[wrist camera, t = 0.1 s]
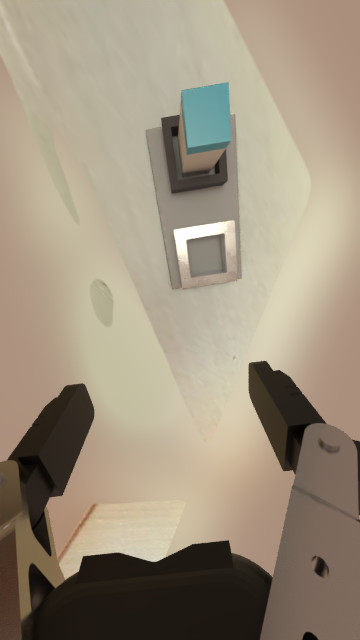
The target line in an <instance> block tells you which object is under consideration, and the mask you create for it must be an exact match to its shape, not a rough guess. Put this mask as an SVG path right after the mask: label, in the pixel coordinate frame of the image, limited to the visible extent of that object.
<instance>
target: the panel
mask: <svg viewBox="0 0 360 640" xmlns="http://www.w3.org/2000/svg"><path fill="white" fill-rule="evenodd" d="M230 127H231V141H230V143H229V144H228V146H227V147H226V155H227V173H228V181H227V182H226V183H225V184H224V185H221V186H215V187H209V188H203V189H197V190H191V191H185V192H179V193H173V194H172V193H171V186H170V179H169V172H168V165H167V159H166V152H165V145H164V138H163V131H162V127H159V128H153V129H148V130H146V135H147V141H148V147H149V153H150V159H151V165H152V171H153V176H154V182H155V188H156V194H157V200H158V206H159V212H160V218H161V224H162V230H163V236H164V242H165V248H166V254H167V260H168V266H169V272H170V278H171V284H172V289H178V288H182V283H181V277H180V270H179V263H178V257H177V250H176V243H175V236H174V230H177V229H183V228H189V227H195V226H201V225H207V224H213V223H220V222H226V221H232V220H235V241H236V263H237V279H241V278H242V277H241V251H240V225H239V200H238V174H237V148H236V122H235V114H234V115H230ZM172 140H173V147H174V155H175V162H176V170H177V178H178V180H183V179H189V178H195V177H201V176H207V175H212V174H215V165H214V167H213V168H212V170H211V171H210V173H205V174H199V175H193V176H187V177H182V174H181V166H180V158H179V150H178V136H173V137H172ZM186 245H187V252H188V260H189V268H190V274H191V273H197V272H203V271H210V270H216V269H222V260H221V247H220V234H217V235H211V236H204V237H198V238H192V239H186Z"/></svg>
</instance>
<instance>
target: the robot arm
mask: <svg viewBox="0 0 360 640" xmlns="http://www.w3.org/2000/svg"><path fill="white" fill-rule="evenodd" d="M249 394H250V398H251V401H252V403H253V405H254V407H255V410H256V412H257V414H258V417H259V419H260V421H261V423H262V425H263V427H264V430H265V432H266V434H267V436H268V438H269V441H270V443H271V445H272V447H273V450H274V452H275V454H276V456H277V458H278V460H279V463H280V465H281V467H282V469H283V471H290V470H293V471H294V473H295V480H294V484H293V486H292V490H291V494H290V499H289V504H288V508H287V513H286V518H285V522H284V527H283V532H282V537H281V542H280V546H279V551H278V556H277V561H276V565H275V570H274V575H273V577H272V576H271V575H270V574H269V573H267V572H266V571H265V570H264V569H263V568H261V567H260V566H259V565H257V564H256V563H254V562H252V561H251V560H249V559H247V558H245V557H242V556H240V555H237V554H233V553H231V549H230V544H229V541H219V542H210V543H201V544H192V545H190V546H188V547H186V548H184V549H182V550H180V551H178V552H176V553H174V554H172V555H170V556H168V557H166V558H164V559H162V560H160V561H157V562H150V561H147V560H143V559H140V558H136V557H132V556H129V555H125V554H122V553H109V554H100V555H91V556H83V558H82V562H81V566H80V569H79V572H77V573H75V574H74V575H72V576H71V577H69V578H68V579H66V580H65V579H64V576H63V574H62V571H61V569H60V566H59V563H58V560H57V555H56V550H55V545H54V539H53V534H52V529H51V524H50V518H49V514H48V509H47V507H46V504H47V502H48V500H49V497H55V496H62V495H63V492H64V490H65V488H66V485H67V483H68V480H69V478H70V475H71V473H72V471H73V468H74V466H75V463H76V461H77V458H78V456H79V454H80V451H81V449H82V446H83V444H84V441H85V439H86V436H87V434H88V432H89V429H90V427H91V424H92V422H93V419H94V407H93V404H92V401H91V399H90V396H89V394H88V391H87V388H86V386H85V385H84V384H74V385H67V386H65V387H64V389H63V390H62V392H61V393H60V395H59V396H58V397H57V398H55V399H53V400H52V401H51V402H50V403H49V404H47V405H46V406H45V407H44V409H43V410H42V412H41V413H40V415H39V416H38V418H37V419H36V420H35V421H34V423H33V424H32V427H30V429H29V430H28V431H27V433H26V434H25V436H24V437H23V438H22V440H21V441H20V443H19V444H18V445H17V447H16V448H15V450H14V451H13V452H12V454H11V455H10V457H9V458H8V460H7V461H3V462H0V640H360V520H359V515H360V442H359V441H355V440H352V439H351V438H350V437H349V436H348V435H347V434H346V433H344V432H343V431H341V430H340V429H338V428H336V427H334V426H331V425H328V424H326V423H325V421H324V420H323V419H322V417H321V416H320V415H319V414H318V412H317V411H316V410H315V409H314V407H313V406H312V405H311V403H310V402H309V401H308V400H307V398H306V397H305V396H304V395H303V394H302V392H301V391H300V389H299V388H298V387H296V384H295V383H294V382H293V381H292V379H291V378H290V377H289V376H287V375H286V374H285V373H283V372H281V371H280V370H277V371H273V370H272V368H271V367H270V365H269V364H268V363H267V362H266V361H261V362H252V363H249Z"/></svg>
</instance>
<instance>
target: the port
mask: <svg viewBox="0 0 360 640" xmlns="http://www.w3.org/2000/svg"><path fill="white" fill-rule="evenodd" d="M217 234H220V247H221V260H222V269H216V270H210V271H203V272H197V273H191V274H190V268H189V260H188V252H187V245H186V239H192V238H198V237H204V236H211V235H217ZM174 236H175V243H176V250H177V257H178V263H179V270H180V277H181V283H182V288H183V289H186V288H192V287H198V286H205V285H211V284H218V283H224V282H230V281H237V263H236V241H235V220H232V221H226V222H220V223H213V224H207V225H201V226H195V227H189V228H183V229H177V230H174Z"/></svg>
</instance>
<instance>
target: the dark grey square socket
mask: <svg viewBox="0 0 360 640" xmlns="http://www.w3.org/2000/svg"><path fill="white" fill-rule="evenodd" d="M179 119H180V115H176V116H170V117H165V118H161V120H162V131H163V138H164V145H165V152H166V159H167V165H168V172H169V179H170V186H171V193H172V194H173V193H179V192H185V191H191V190H197V189H203V188H209V187H215V186H221V185H224V184H225V183H226V182H227V181H228V173H227V155H226V149H225V150H224V152H223V153H222V155H221V156H220V158H219V159H218V161H217V162H216V164H215V174H212V175H207V176H201V177H195V178H189V179H183V180H178V178H177V170H176V162H175V155H174V147H173V140H172V137H173V136H178V132H179Z"/></svg>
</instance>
